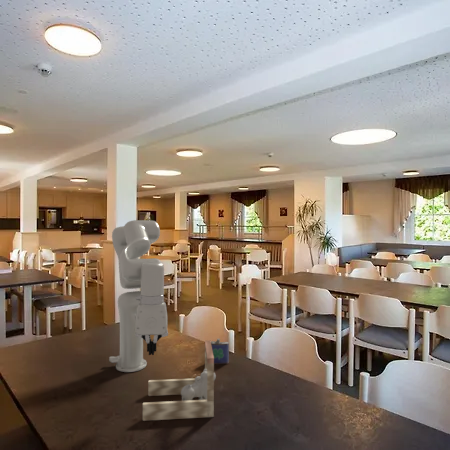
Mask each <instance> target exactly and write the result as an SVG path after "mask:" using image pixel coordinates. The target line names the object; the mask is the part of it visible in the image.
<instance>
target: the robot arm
mask: <svg viewBox="0 0 450 450" xmlns="http://www.w3.org/2000/svg"><path fill="white" fill-rule="evenodd" d="M111 233H112V234H111V239H112V241H111V242H112V245H113V248H114V249H113V250H114V251H115V253H116V256H117V259H118V270H119V271H118V273H119V283H120V286H121V287H122V289H123V290H124V289H126V290H130V289H131V290H132V289H135V290H136V291H135V290H133V291H127V292H124V293H121V294H120V295H119V296H118V298H117V308H118V314H119V355H117V356H109V357H108V358H109V359H108V360H109V362H110V363H111V364H115V369H116V370H117V371H119V372H122V373H123V372H124V373H133V372H139V371H141V370H143V369H145V368H146V366H147V363H148V362H147V360H146V359H144V342H145V343H146V352H148V356H151V355H152V356H154V354H155V352H157V343H158V341H160V339H161V338H165V337H168V335H169V332H168V331H169V330H168V323H169V322H168V311H167V304H166V302H165V300H164V299H165V296H164V295H165V266H164V263H163V262H162V261H161V260H160V259H159V258H156V257H155V258H140V257H143V256H144V255H145V254H147V253H149V251H150V249H151V245H152V244H153V243H156V242H157V241H158V239H159V238H160V235H161V229H160V225H159V224H158V223H157V222H156V220H152V219H151V220H150V219H148V220H145V219H144V220H142V219H141V220H140V219H139V220H138V219H137V220H129V221H127V222H126V223H125V224H124V225H123V226H118V227H115V228H114V229H113V230H112V232H111ZM137 289H140V290H137ZM151 336H153V339H152V338H151Z"/></svg>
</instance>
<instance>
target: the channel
mask: <svg viewBox="0 0 450 450" xmlns="http://www.w3.org/2000/svg"><path fill="white" fill-rule="evenodd" d="M204 369H207V400H204V399H202V400H199V399H192V400H187V401H182V400H173V401H172V400H171V401H169V400H168V401H167V400H166V401H150V402H143V403H142V421H144V422H145V421H161V420H162V421H163V420H179V419H181V420H182V419H197V418H213V417H215V415H214V412H215V410H214V409H215V408H214V406H215V405H214V404H215V403H214V402H215V401H214V400H215V399H214V398H215V397H214V396H215V395H214V394H215V393H214V392H215V390H214V389H215V388H214V386H215V380H214V373H215V364H214V356H213V351H212V346H211V340H208V339H207V340H204ZM195 378H196V377H195ZM195 378H193V377H192V378H191V377H190V378H172V379H171V378H169V379H149V380H148V383H147V385H148V391H147V392H148V396H149V397H153V396H155V397H156V396H158V397H159V396H171V395H172V396H173V395H175V396H176V395H177V396H178V395H181V390H182V389H183V387H184V386H186V385H188V384H189V385H191V384H193V383H195ZM198 380H199V379H198Z"/></svg>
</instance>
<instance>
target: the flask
mask: <svg viewBox="0 0 450 450" xmlns="http://www.w3.org/2000/svg"><path fill="white" fill-rule="evenodd" d="M211 346H212V351H213V356H214V365H228V364H229V362H230V360H229V357H230V356H229V355H230V354H229V352H230V351H229V350H230V349H229V348H230V343H229V342H228V341H221V339H220V338H216V340H215V341H213V340H212V341H211Z"/></svg>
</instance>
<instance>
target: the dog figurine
mask: <svg viewBox="0 0 450 450" xmlns="http://www.w3.org/2000/svg"><path fill="white" fill-rule="evenodd" d="M216 377H217V375H216V372H214V381H215V380H216ZM198 379H199V380H198ZM180 396H181V401H187V400H194V398H198V400H207V369H205V368H204V369H203V371H202V372H201V373H200V376H199V375H197V376H195V383H193V384H191V385H189V384H188V385H186V386H184V387H183V389H182V390H181V394H180Z"/></svg>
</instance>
